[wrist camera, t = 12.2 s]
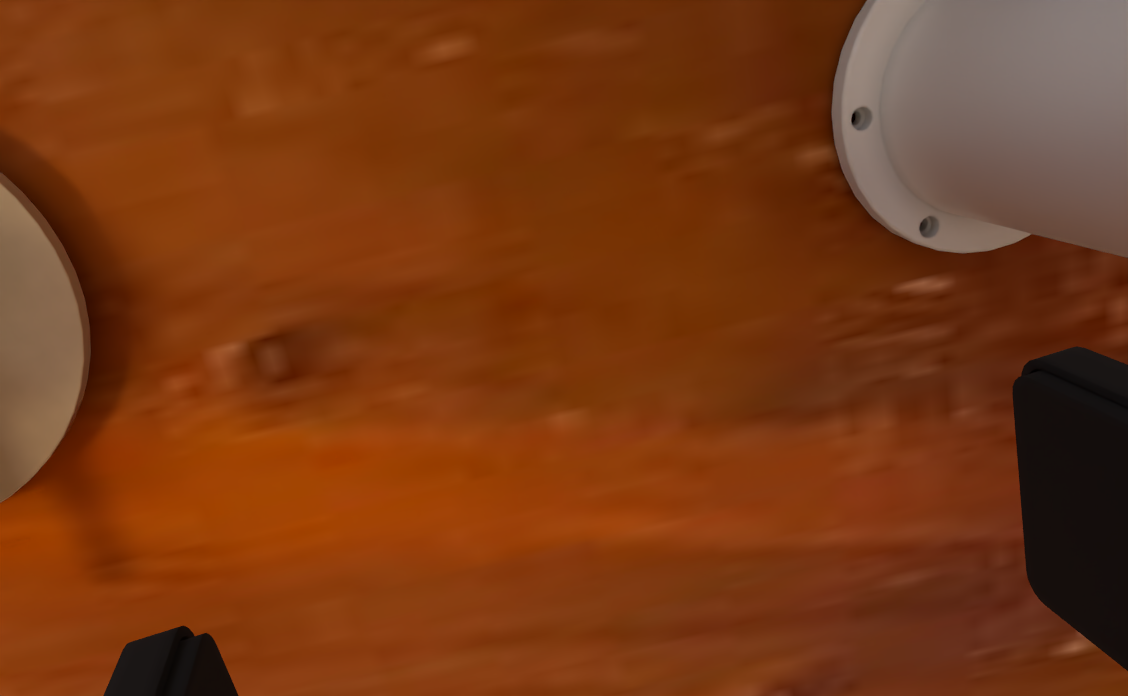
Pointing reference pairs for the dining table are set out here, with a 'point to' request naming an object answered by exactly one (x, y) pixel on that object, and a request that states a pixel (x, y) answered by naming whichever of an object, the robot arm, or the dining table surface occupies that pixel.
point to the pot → (36, 340)
